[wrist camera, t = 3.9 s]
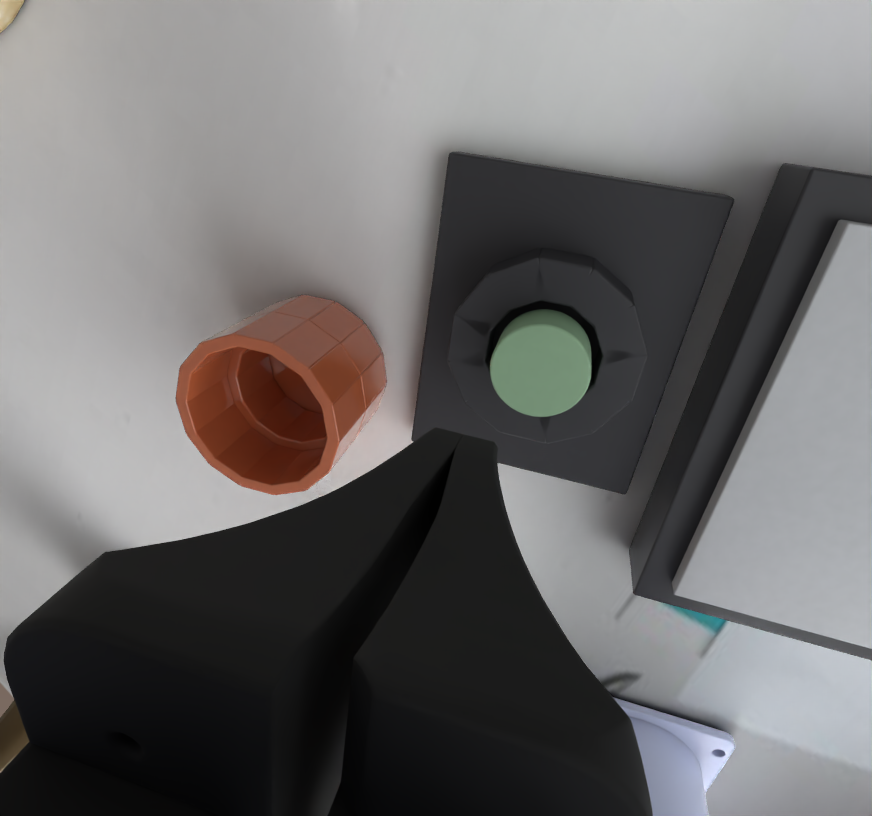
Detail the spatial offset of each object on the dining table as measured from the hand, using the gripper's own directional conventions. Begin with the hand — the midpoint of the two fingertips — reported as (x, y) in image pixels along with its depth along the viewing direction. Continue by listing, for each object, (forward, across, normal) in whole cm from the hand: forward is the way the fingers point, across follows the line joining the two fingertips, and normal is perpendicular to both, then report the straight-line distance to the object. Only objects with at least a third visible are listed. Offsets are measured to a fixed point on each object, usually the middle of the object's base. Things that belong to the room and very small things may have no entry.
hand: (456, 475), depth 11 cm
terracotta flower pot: (+9, +7, +3) cm, 11 cm away
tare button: (+7, -1, 0) cm, 7 cm away
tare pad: (+9, -1, 0) cm, 9 cm away
